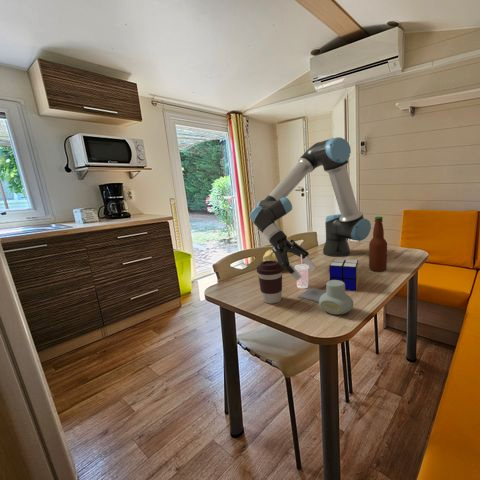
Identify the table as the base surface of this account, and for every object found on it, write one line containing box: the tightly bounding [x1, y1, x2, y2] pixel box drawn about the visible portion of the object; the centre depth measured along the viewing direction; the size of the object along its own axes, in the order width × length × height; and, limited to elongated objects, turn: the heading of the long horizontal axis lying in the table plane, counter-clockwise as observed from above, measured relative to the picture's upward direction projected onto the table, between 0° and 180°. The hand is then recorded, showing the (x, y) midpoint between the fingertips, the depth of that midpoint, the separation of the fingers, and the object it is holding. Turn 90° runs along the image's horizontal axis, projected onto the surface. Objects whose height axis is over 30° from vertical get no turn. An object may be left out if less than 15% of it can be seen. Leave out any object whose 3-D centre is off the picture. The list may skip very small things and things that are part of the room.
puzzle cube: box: [328, 258, 359, 292], centre depth 108 cm, size 10×10×10 cm
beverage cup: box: [293, 255, 310, 289], centre depth 110 cm, size 6×6×14 cm
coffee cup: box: [256, 260, 284, 305], centre depth 100 cm, size 10×10×15 cm
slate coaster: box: [297, 287, 326, 304], centre depth 102 cm, size 10×10×1 cm
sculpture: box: [262, 249, 283, 264], centre depth 137 cm, size 12×12×11 cm
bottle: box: [368, 216, 388, 273], centre depth 121 cm, size 7×7×25 cm
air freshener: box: [318, 279, 354, 315], centre depth 88 cm, size 11×8×10 cm
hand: (307, 274), depth 109 cm, fingers open, 12 cm apart
